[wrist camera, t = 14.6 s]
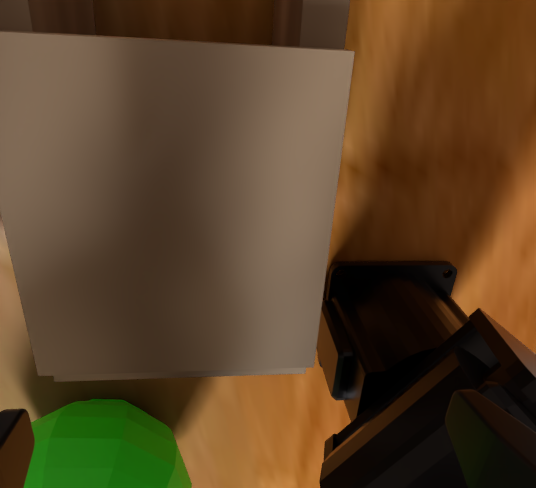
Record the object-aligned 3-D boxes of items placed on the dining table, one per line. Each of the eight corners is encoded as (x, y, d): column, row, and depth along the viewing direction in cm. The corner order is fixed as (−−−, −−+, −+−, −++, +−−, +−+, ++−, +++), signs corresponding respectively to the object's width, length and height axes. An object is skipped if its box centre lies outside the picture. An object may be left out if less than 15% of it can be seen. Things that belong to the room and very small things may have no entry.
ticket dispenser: (308, -35, 16) (371, -73, 10) (282, 285, 22) (310, 393, 16) (50, -55, 15) (-75, -113, 9) (97, 286, 21) (44, 403, 15)
